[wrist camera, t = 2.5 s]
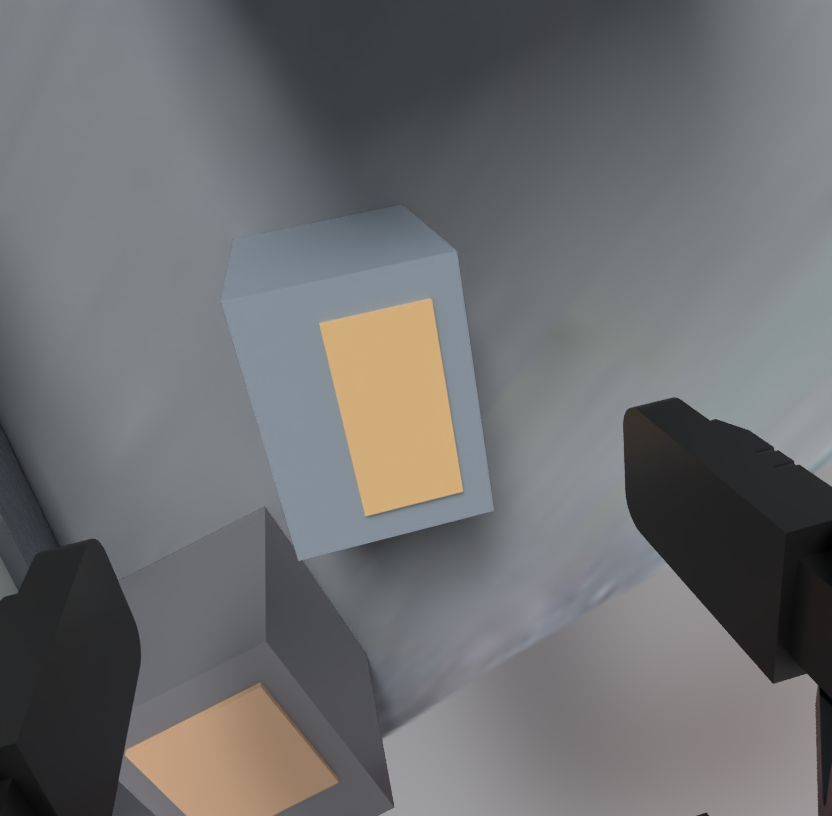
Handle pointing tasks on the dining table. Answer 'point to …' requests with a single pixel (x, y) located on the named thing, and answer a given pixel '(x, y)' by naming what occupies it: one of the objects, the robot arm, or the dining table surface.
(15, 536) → the rail
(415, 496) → the block
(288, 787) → the block
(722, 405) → the dining table surface
